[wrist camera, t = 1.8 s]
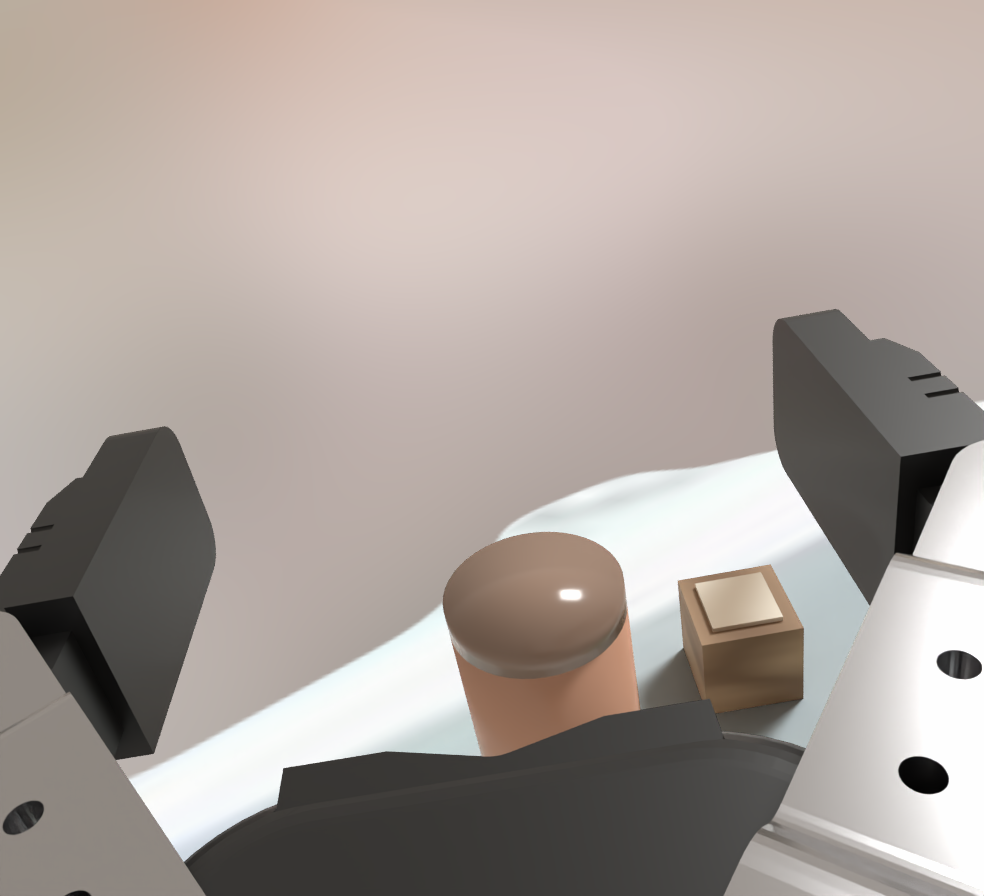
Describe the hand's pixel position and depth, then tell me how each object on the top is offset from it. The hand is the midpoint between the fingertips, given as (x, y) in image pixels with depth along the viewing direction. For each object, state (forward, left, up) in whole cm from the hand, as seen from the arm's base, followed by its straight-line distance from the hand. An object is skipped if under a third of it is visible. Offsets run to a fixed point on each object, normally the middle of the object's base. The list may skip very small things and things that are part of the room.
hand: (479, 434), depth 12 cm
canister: (0, -11, -24) cm, 27 cm away
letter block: (-8, -18, -24) cm, 31 cm away
